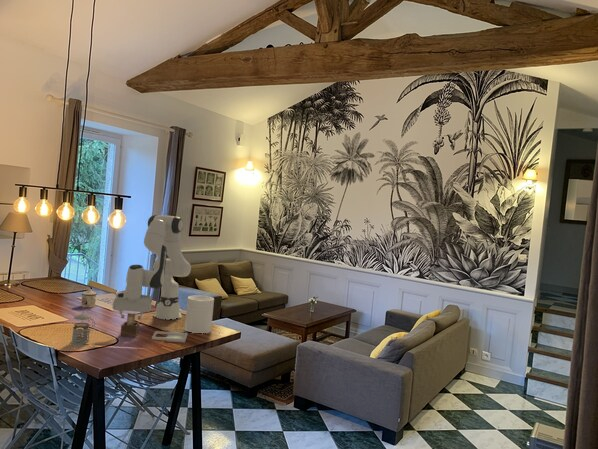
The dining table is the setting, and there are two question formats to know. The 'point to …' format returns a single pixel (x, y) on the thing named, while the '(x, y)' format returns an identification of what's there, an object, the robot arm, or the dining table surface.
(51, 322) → the dining table surface
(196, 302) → the canister
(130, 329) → the pen pot
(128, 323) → the dowel
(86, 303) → the teacup with lid
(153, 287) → the robot arm
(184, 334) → the tray
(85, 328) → the french press
